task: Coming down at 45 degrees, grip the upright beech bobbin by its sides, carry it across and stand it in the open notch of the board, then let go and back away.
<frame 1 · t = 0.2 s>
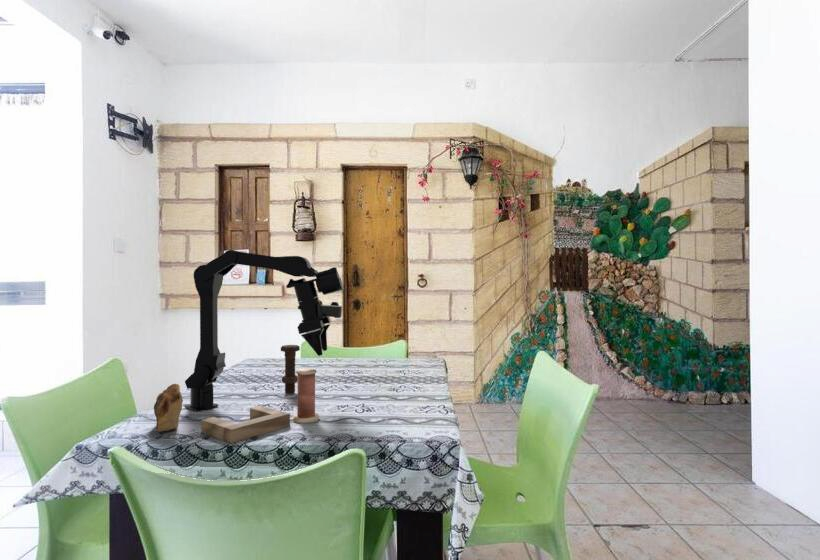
hand: (323, 352, 134), 15 cm above the table, tool tilted 15°, fingers open, 9 cm apart
bolt: (289, 393, 150), on the table
bobbin: (306, 419, 122), on the table
notch board: (246, 429, 114), on the table
decorative rock: (169, 429, 114), on the table
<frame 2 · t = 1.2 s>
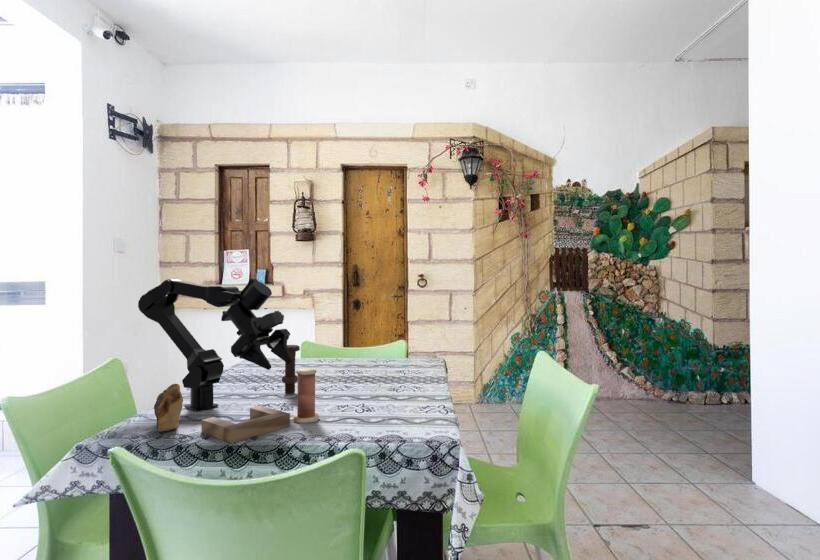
hand: (280, 365, 124), 13 cm above the table, tool tilted 45°, fingers open, 9 cm apart
nothing on the table moved.
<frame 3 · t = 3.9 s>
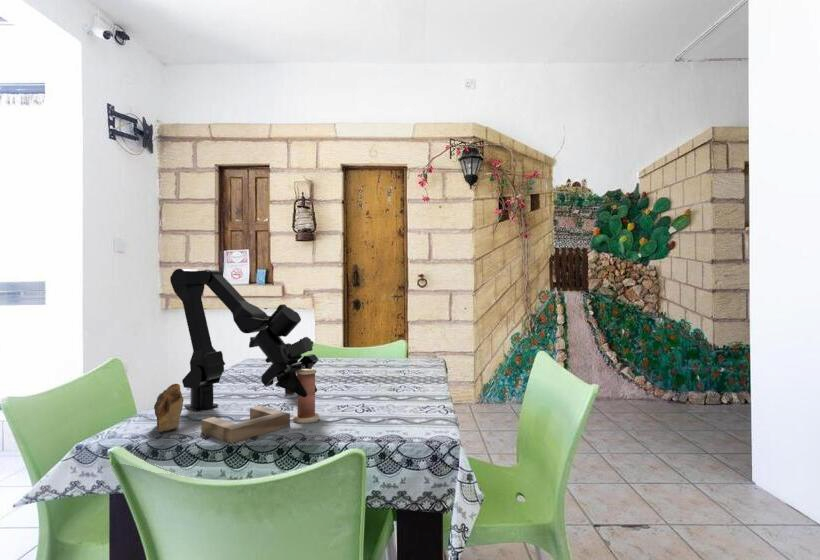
hand: (311, 394, 121), 7 cm above the table, tool tilted 45°, fingers closed on bobbin, 4 cm apart
bobbin: (306, 419, 122), on the table, touching gripper
everything else where it was.
when the fingers open (7 cm above the table, at t = 8.4 s): bobbin stays where it is, on the table.
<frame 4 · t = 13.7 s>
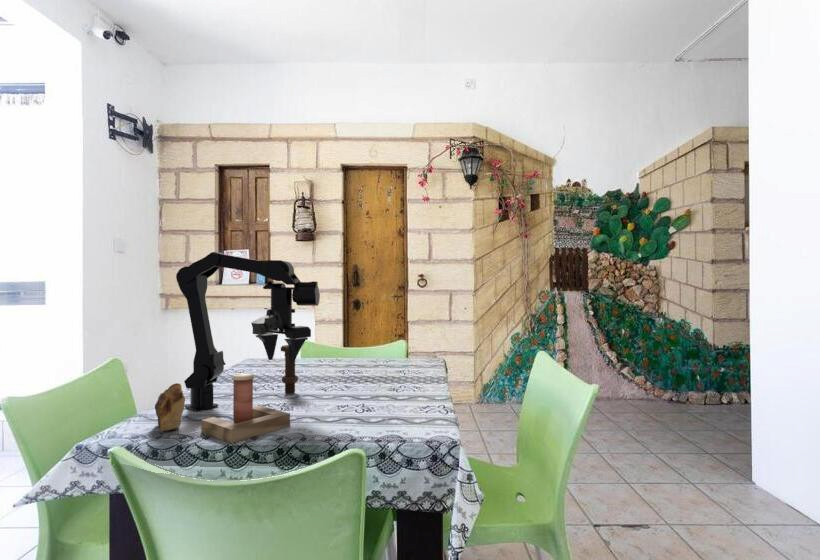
hand: (280, 361, 133), 13 cm above the table, tool pointing down, fingers open, 9 cm apart
bobbin: (242, 428, 114), on the table
everything else where it was.
at the end: bobbin inside the target area on the notch board (0.4 cm from its centre), point 0.0 cm above the notch board's base; bobbin tilted 0°; the gripper is holding nothing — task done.
